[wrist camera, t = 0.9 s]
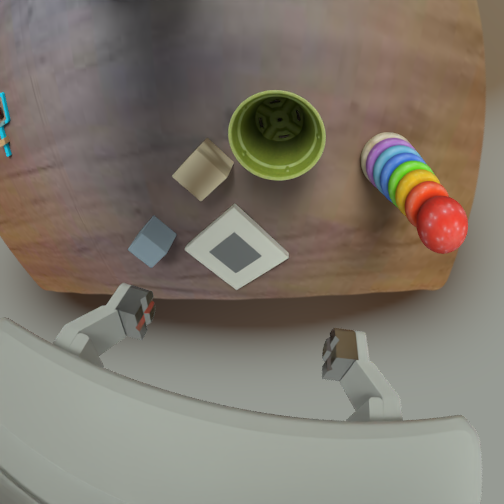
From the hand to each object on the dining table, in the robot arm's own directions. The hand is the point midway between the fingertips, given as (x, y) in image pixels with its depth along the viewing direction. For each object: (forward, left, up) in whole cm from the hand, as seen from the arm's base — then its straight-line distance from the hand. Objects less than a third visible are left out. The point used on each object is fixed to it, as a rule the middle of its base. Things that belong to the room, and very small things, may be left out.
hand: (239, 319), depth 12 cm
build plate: (+10, -17, -28) cm, 34 cm away
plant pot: (-1, +2, -28) cm, 28 cm away
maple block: (-3, -9, -28) cm, 29 cm away
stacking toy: (+12, +10, -28) cm, 32 cm away
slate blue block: (-1, -25, -28) cm, 37 cm away
